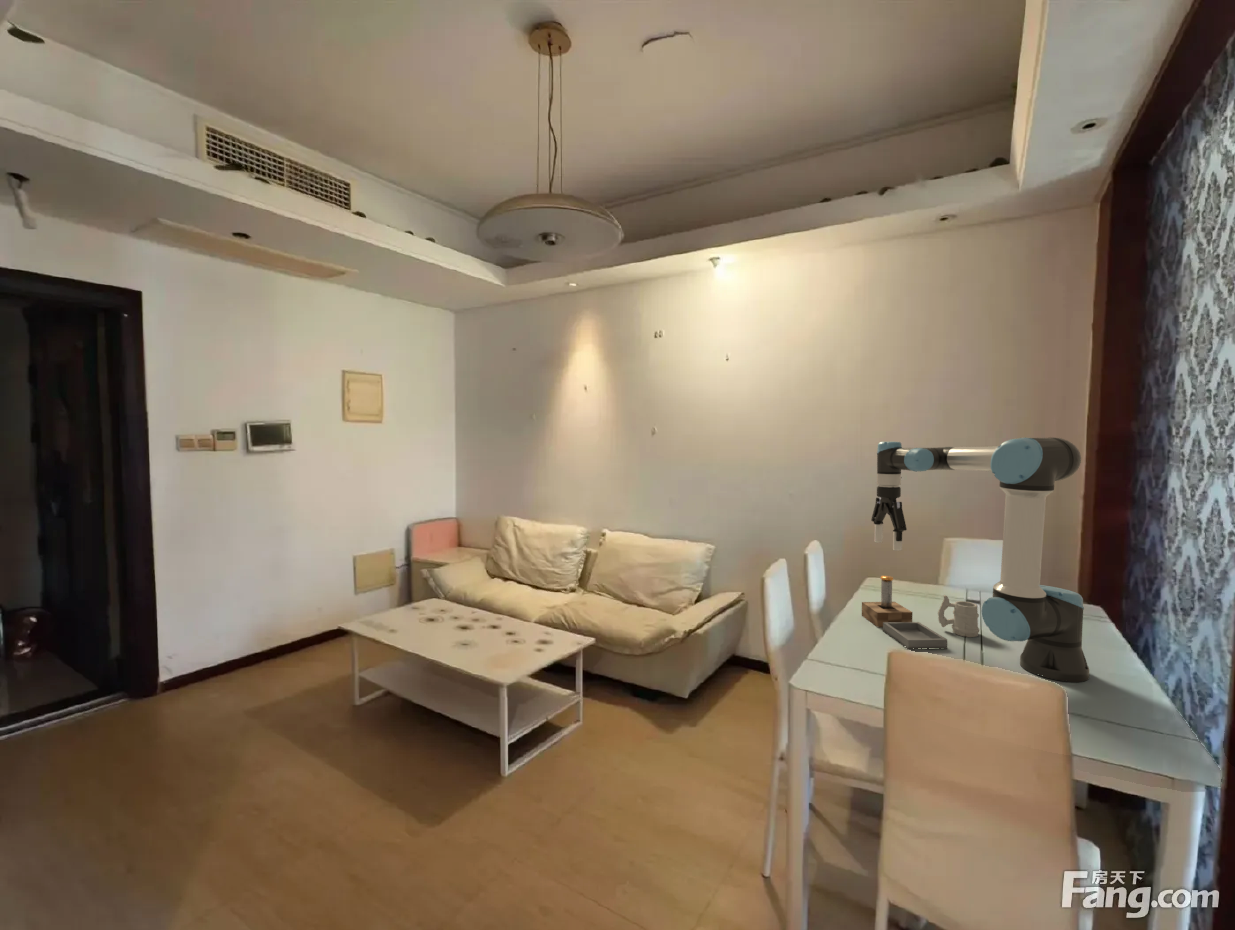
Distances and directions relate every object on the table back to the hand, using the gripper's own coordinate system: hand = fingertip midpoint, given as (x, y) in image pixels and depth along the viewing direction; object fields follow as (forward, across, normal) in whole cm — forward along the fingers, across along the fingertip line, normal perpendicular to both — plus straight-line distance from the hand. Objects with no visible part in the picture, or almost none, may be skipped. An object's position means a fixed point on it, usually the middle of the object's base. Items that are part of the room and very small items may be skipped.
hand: (887, 546), depth 195 cm
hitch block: (+26, 0, 0) cm, 27 cm away
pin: (+27, 0, 0) cm, 27 cm away
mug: (+27, -12, -18) cm, 34 cm away
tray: (+26, -18, 0) cm, 32 cm away
